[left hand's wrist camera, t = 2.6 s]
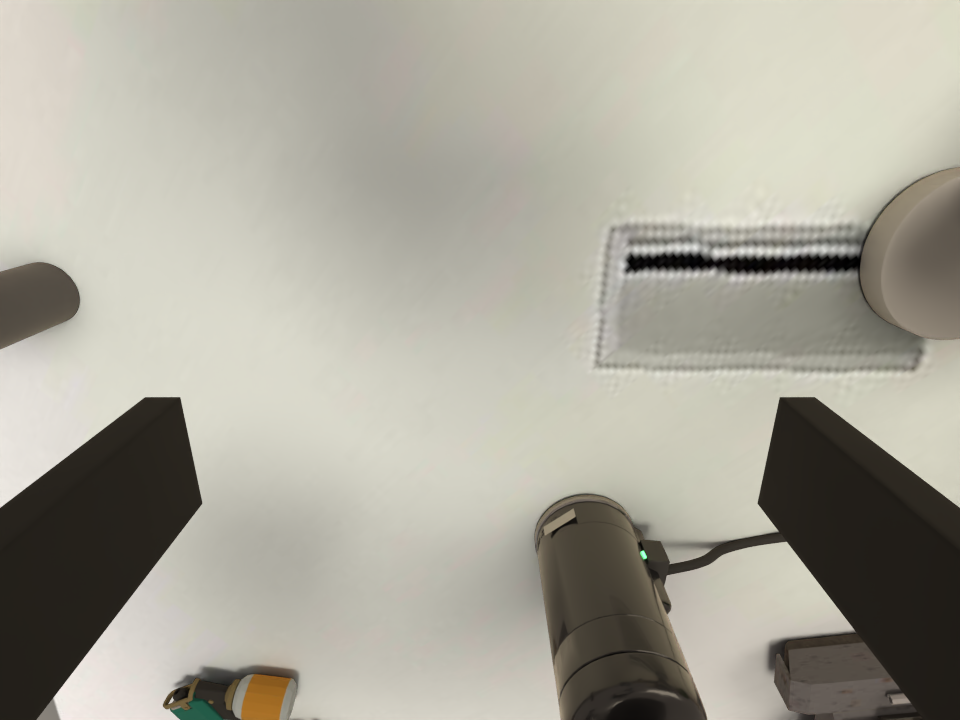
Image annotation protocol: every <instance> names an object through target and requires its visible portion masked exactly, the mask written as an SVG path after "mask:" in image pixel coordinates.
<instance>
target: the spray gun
mask: <svg viewBox="0 0 960 720" xmlns="http://www.w3.org/2000/svg"><path fill="white" fill-rule="evenodd" d="M296 691H297V685H296V683H295V681H294V679H292V678H284V677H275V676H267V675H259V674H251V675H247V676H246V677H244V678H243V679H242V680H241V679H235V681H234V682H233V683H232V684H231V685H230V686H229V687H228V686H226V685H222V684H217V683H212V682H207V681H202V680H201V679H199V678H196V679H195V680H194V682H193V683H192V684H189V685H187V686H184V687H181V688H178V689H175V690H173V691H172V692H171V693H170V694H169V695H168V696H167V698H166V700H165V701H164V704H163V707H164V708H165V709H169V708H170V710H171V712H172V713H174V714H175V715H176V716H177V717H178V718H179V719H180V720H288V719H289V717H290V715H291V712H292V709H293V705H294V701H295V697H296ZM172 697H173V699H174V701H173V702H172V703H171V704H168V703H169V702H170V700H171V698H172Z"/></svg>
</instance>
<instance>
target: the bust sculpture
mask: <svg viewBox="0 0 960 720" xmlns="http://www.w3.org/2000/svg"><path fill="white" fill-rule="evenodd" d="M860 279H861V286H862V289H863V293H864V295H865V298H866V300H867V302H868V303H869V305H870V306H871V308H872V309H873V310H874V311H875V312H876V313H877V314H878V315H879V316H880V317H881V318H883V319H884V320H885V321H887V322H889V323H891V324H893V325H895V326H898V327H900V328H902V329H904V330H907V331H909V332H911V333H913V334H916V335H918V336H921V337H924V338H929V339H936V340H953V339H960V167H958V168H952V169H948V170H944V171H941V172H938V173H935V174H932V175H930V176H928V177H926V178H924V179H922V180H920V181H918V182H916V183H915V184H913V185H912V186H910V187H909V188H907V189H906V190H905V191H903V192H902V193H901V194H900V195H899V196H897V197H896V198H895V199H894V200H893V201H892V202H891V203H890V204H889V205H888V206H887V208H886V209H885V210H884V211H883V212H882V214H881V215H880V216H879V218H878V219H877V221H876V222H875V224H874V226H873V227H872V229H871V231H870V233H869V235H868V237H867V240H866V242H865V245H864V248H863V252H862V257H861V263H860Z"/></svg>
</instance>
